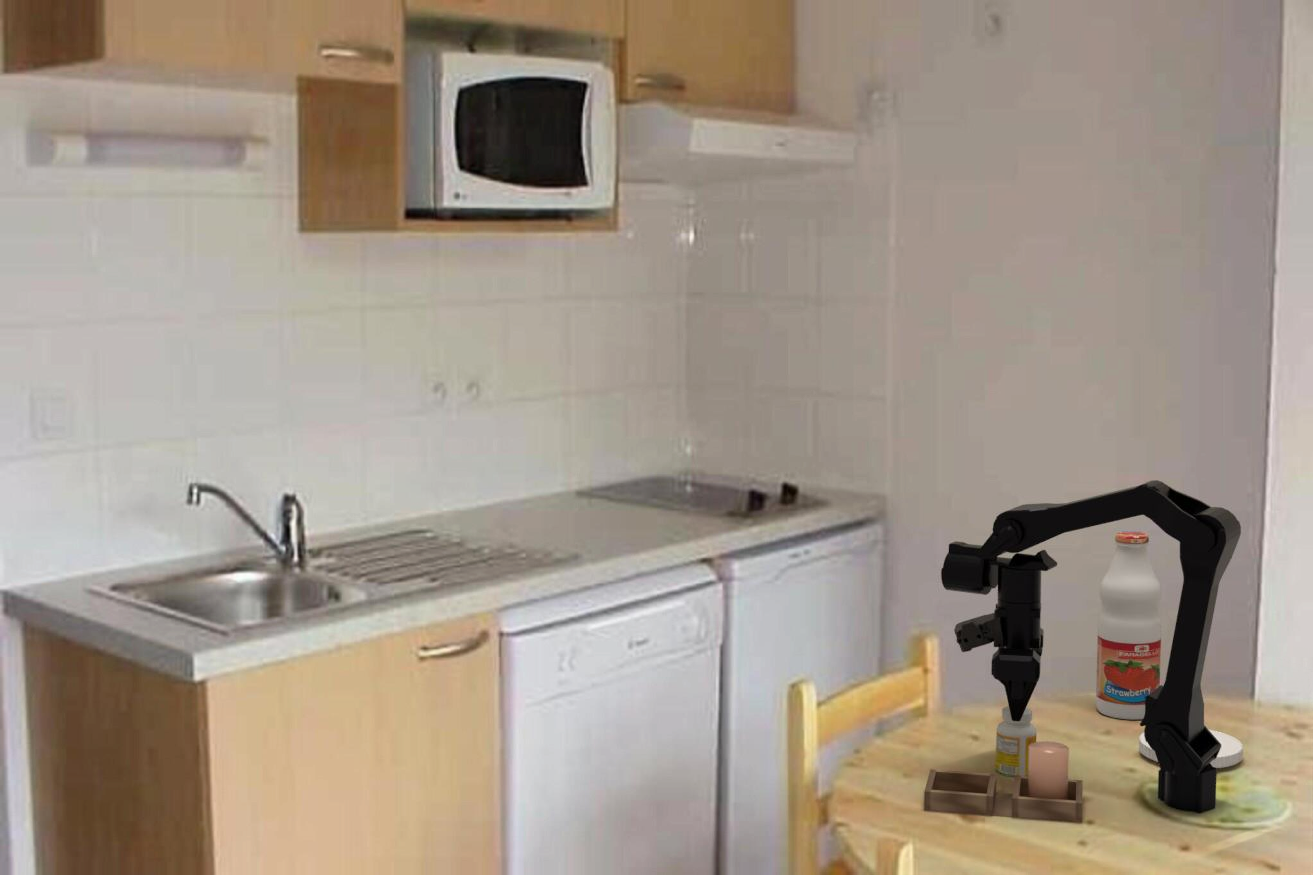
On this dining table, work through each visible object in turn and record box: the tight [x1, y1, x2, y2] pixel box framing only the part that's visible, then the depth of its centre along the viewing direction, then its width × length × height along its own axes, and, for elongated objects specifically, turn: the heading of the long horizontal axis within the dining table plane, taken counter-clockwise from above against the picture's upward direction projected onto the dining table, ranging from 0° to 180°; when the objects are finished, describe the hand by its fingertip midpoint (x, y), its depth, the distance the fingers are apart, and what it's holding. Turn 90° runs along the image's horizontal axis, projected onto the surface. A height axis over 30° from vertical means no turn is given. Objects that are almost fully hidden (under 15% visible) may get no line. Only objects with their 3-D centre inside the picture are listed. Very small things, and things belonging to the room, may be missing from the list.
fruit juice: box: [1095, 530, 1162, 721], centre depth 250 cm, size 9×9×28 cm
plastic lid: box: [1138, 729, 1244, 769], centre depth 231 cm, size 14×14×2 cm
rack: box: [923, 768, 1084, 824], centre depth 210 cm, size 20×9×4 cm, turn 75°
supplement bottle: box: [995, 705, 1037, 778], centre depth 223 cm, size 5×5×10 cm
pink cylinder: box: [1028, 740, 1070, 800], centre depth 209 cm, size 5×5×8 cm
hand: (1017, 710), depth 222 cm, fingers open, 9 cm apart
